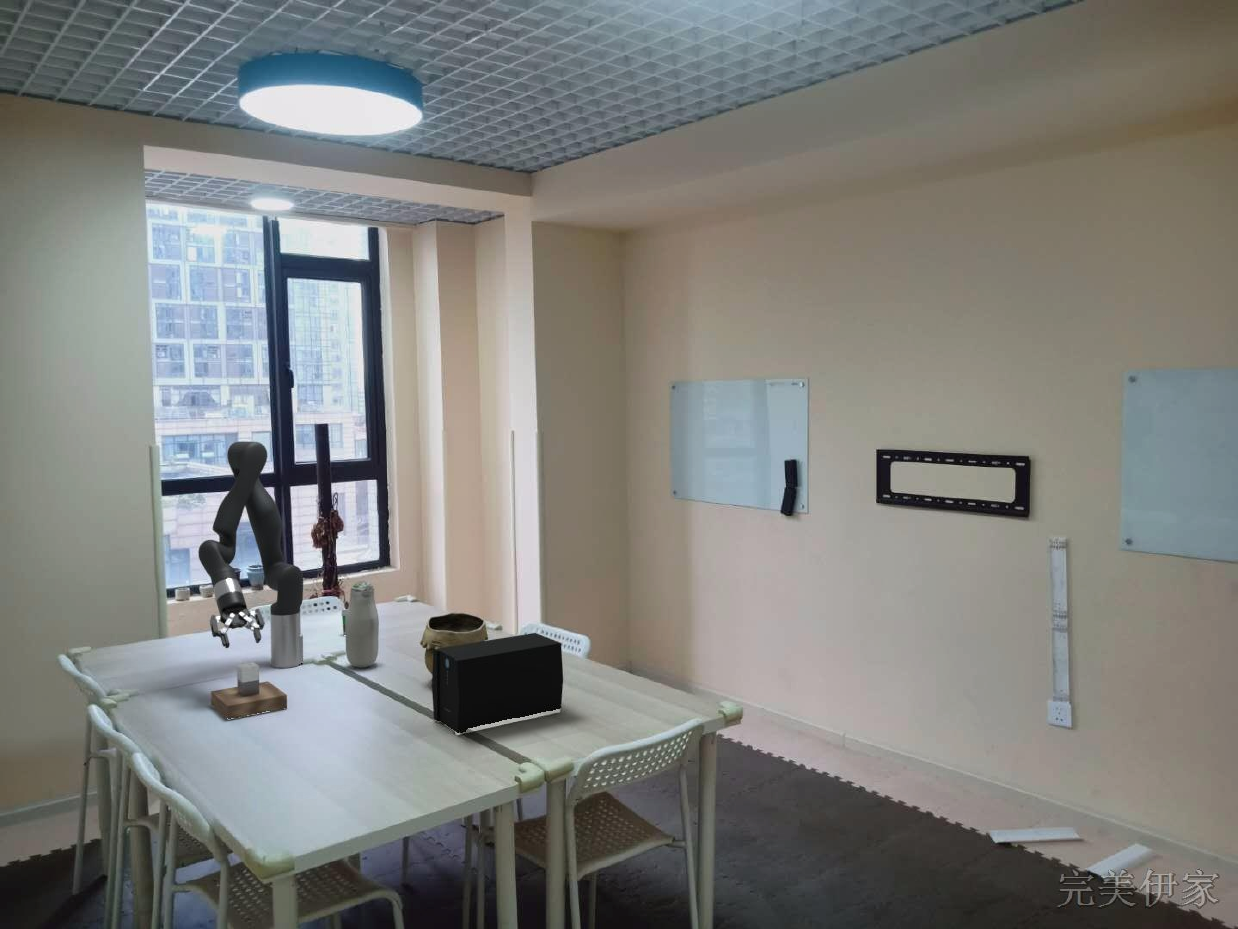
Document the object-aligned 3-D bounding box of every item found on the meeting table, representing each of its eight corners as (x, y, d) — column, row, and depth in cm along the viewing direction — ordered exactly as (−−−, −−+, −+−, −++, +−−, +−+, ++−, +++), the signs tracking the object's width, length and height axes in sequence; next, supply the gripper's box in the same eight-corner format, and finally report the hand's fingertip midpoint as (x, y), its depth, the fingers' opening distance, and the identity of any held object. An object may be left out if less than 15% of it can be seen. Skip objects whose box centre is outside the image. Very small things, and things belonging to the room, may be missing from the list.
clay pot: (500, 686, 291) (500, 621, 289) (434, 697, 280) (434, 630, 278) (474, 669, 308) (474, 608, 307) (411, 678, 298) (410, 615, 296)
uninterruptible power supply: (432, 719, 260) (431, 648, 259) (537, 697, 280) (537, 631, 279) (459, 737, 247) (458, 662, 246) (568, 713, 267) (568, 643, 265)
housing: (254, 689, 272) (253, 662, 271) (259, 693, 268) (258, 665, 268) (237, 692, 269) (237, 664, 269) (242, 696, 266) (242, 668, 265)
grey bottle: (340, 669, 307) (339, 583, 305) (359, 661, 317) (359, 577, 315) (365, 672, 303) (364, 585, 301) (384, 664, 313) (384, 580, 311)
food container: (357, 638, 346) (356, 611, 345) (341, 637, 347) (341, 610, 347) (372, 630, 358) (372, 603, 357) (357, 629, 359) (357, 603, 359)
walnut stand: (268, 694, 280) (268, 681, 280) (287, 708, 268) (286, 695, 268) (211, 705, 270) (211, 691, 270) (228, 720, 258) (227, 706, 258)
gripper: (206, 593, 274) (219, 641, 266) (256, 587, 283) (271, 632, 275) (202, 608, 278) (215, 655, 270) (251, 601, 287) (265, 647, 279)
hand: (243, 644), depth 273 cm, fingers open, 8 cm apart
